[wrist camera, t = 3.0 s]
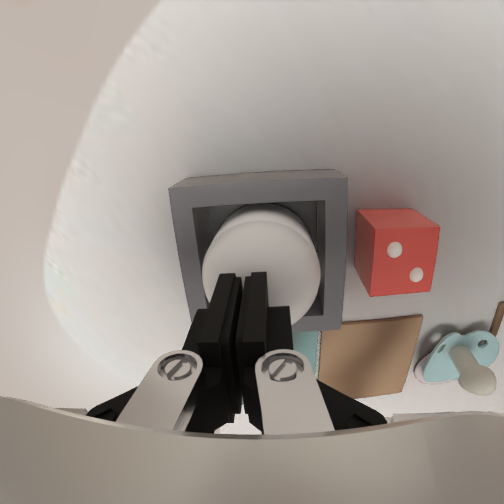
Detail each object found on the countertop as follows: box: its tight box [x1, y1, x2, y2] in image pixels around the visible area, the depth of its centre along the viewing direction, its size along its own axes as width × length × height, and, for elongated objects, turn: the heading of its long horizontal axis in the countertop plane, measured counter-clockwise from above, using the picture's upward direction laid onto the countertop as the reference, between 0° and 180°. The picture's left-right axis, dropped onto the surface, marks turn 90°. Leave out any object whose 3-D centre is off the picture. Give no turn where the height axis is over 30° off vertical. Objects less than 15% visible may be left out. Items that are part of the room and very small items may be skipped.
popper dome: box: [202, 203, 321, 325], centre depth 14 cm, size 5×5×5 cm
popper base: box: [168, 169, 440, 332], centre depth 15 cm, size 13×8×4 cm, turn 94°
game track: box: [242, 302, 504, 404], centre depth 20 cm, size 23×8×1 cm, turn 94°
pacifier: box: [414, 330, 499, 395], centre depth 17 cm, size 7×6×6 cm
